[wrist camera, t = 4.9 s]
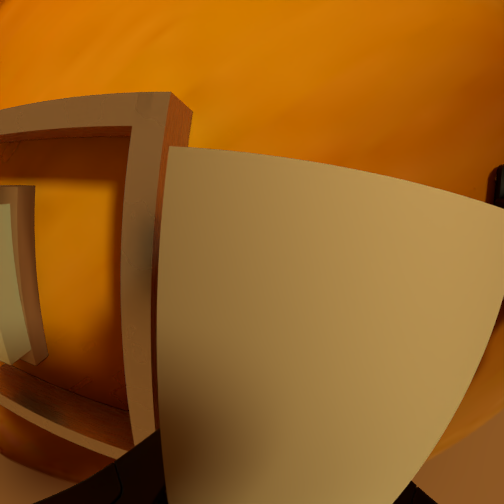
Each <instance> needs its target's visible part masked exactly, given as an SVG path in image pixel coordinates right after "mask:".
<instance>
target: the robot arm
mask: <svg viewBox="0 0 504 504" xmlns="http://www.w3.org/2000/svg"><path fill="white" fill-rule="evenodd" d="M493 205H494V206H497V207H500V208H503V209H504V164H503V165H500V166H499V167H498V169H497V177H496V188H495V197H494V204H493ZM114 463H115V464H114ZM114 463H111V464H109V465H108V466H106V467H105V468H103V469H102V470H100V471H99V472H97V473H96V474H94V475H92V476H91V477H89V478H88V479H86V480H84V481H82V482H80V483H78V484H76V485H74V486H72V487H70V488H68V489H66V490H64V491H62V492H59V493H57V494H55V495H52V496H50V497H48V498H45V499H43V500H41V501H38V502H36V503H33V504H168V498H167V491H166V483H165V474H164V465H163V456H162V445H161V433H160V428H158V429H157V430H156V431H155V432H153V433H152V434H151V435H149V436H148V437H147V438H145V439H144V440H143V441H141V442H140V443H139V444H137V445H136V446H135V447H133V448H132V449H130V450H129V451H128V452H126V453H125V454H124V455H122V456H121V457H119V458H118V459H117V460H115V461H114ZM393 504H437V503H436V502H435V501H434V500H433V499H431V498H430V497H429V496H428V495H427V494H426V493H425V492H424V491H422V490H421V489H420V488H419V487H416V484H414V483H413V482H412V481H410V482H409V484H408V485H407V486H406V488H405V489H404V490H403V491H402V493H401V494H400V495H399V496H398V498H397V499H396V500H395V501H394V502H393Z"/></svg>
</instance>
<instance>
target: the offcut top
mask: <svg viewBox="0 0 504 504" xmlns="http://www.w3.org/2000/svg"><path fill="white" fill-rule="evenodd" d="M30 350H31V345H30V341H29V338H28V334H27V329H26V325H25V321H24V316H23V311H22V306H21V301H20V296H19V290H18V284H17V277H16V270H15V263H14V254H13V244H12V232H11V216H10V204H0V361H2V362H4V363H7V364H9V365H12V364H13V363H14V362H16V361H17V360H18V359H19V358H21V357H22V356H23V355H25V354H26V353H27V352H28V351H30Z"/></svg>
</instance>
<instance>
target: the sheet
mask: <svg viewBox="0 0 504 504" xmlns="http://www.w3.org/2000/svg"><path fill="white" fill-rule="evenodd" d="M503 297H504V209H503V208H500V207H497V206H494V205H491V204H488V203H484V202H481V201H478V200H475V199H472V198H468V197H465V196H462V195H458V194H455V193H451V192H448V191H444V190H441V189H437V188H433V187H429V186H426V185H422V184H418V183H414V182H410V181H406V180H401V179H397V178H393V177H388V176H384V175H379V174H375V173H370V172H365V171H360V170H355V169H350V168H345V167H340V166H334V165H329V164H323V163H317V162H311V161H305V160H298V159H292V158H285V157H278V156H270V155H262V154H254V153H245V152H236V151H227V150H216V149H204V148H191V147H176V146H169V152H168V160H167V168H166V177H165V186H164V196H163V207H162V219H161V232H160V246H159V264H158V289H157V378H158V402H159V419H160V433H161V445H162V456H163V465H164V474H165V483H166V491H167V498H168V504H393V502H394V501H395V500H396V499H397V498H398V496H399V495H400V494H401V493H402V491H403V490H404V489H405V488H406V486H407V485H408V484H409V482H410V481H411V480H412V479H413V477H414V476H415V474H416V473H417V472H418V470H419V469H420V468H421V466H422V465H423V463H424V462H425V460H426V459H427V458H428V456H429V455H430V453H431V452H432V450H433V449H434V447H435V445H436V444H437V442H438V441H439V439H440V438H441V436H442V434H443V433H444V431H445V429H446V428H447V426H448V424H449V422H450V421H451V419H452V417H453V415H454V414H455V412H456V410H457V408H458V406H459V404H460V403H461V401H462V399H463V397H464V395H465V393H466V391H467V389H468V387H469V385H470V383H471V381H472V378H473V376H474V374H475V372H476V370H477V367H478V365H479V363H480V361H481V358H482V356H483V353H484V351H485V348H486V346H487V343H488V341H489V338H490V336H491V333H492V330H493V327H494V324H495V322H496V319H497V316H498V313H499V310H500V306H501V303H502V300H503Z"/></svg>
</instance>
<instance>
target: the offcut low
mask: <svg viewBox="0 0 504 504" xmlns="http://www.w3.org/2000/svg"><path fill="white" fill-rule="evenodd" d="M0 204H10V216H11V232H12V244H13V254H14V263H15V270H16V277H17V284H18V290H19V296H20V301H21V306H22V311H23V316H24V321H25V325H26V329H27V334H28V338H29V341H30V345H31V350H30V351H28V352H27V353H26V354H25V355H23V356H22V357H21V358H19V359H21V360H23V361H25V362H28V363H30V364H32V365H35V366H37V365H38V364H39V363H40V362H41V361H43V360H44V359H45V358H46V357H47V356H48V350H47V345H46V340H45V335H44V329H43V323H42V316H41V309H40V302H39V293H38V284H37V273H36V258H35V233H34V207H35V186H27V185H0Z"/></svg>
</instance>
